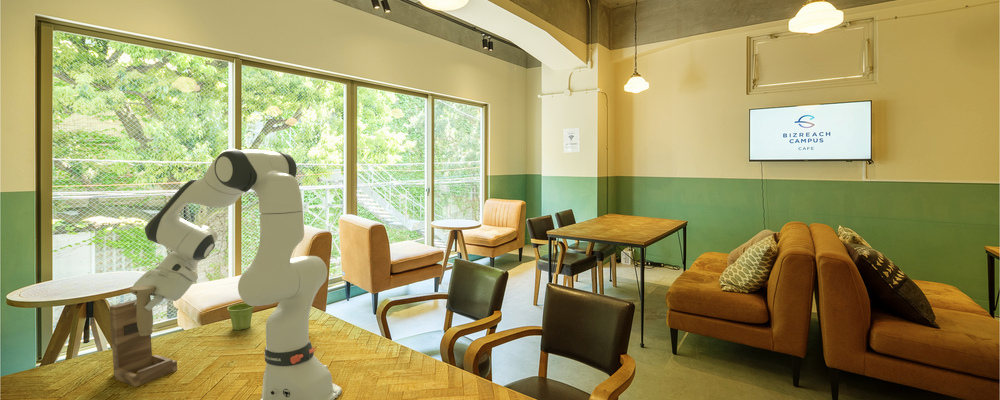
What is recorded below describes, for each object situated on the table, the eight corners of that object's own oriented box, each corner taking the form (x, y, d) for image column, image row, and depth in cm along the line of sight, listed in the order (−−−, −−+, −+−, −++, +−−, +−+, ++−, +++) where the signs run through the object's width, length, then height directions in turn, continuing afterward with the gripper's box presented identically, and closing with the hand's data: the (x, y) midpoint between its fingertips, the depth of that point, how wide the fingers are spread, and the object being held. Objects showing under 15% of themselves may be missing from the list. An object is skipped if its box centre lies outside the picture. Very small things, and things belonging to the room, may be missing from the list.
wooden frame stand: (177, 370, 138) (173, 303, 136) (135, 386, 128) (130, 314, 126) (151, 361, 144) (147, 296, 142) (109, 376, 133) (104, 307, 131)
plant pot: (237, 322, 178) (237, 302, 178) (260, 323, 178) (259, 303, 177) (222, 331, 169) (221, 310, 168) (246, 332, 169) (245, 310, 168)
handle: (143, 331, 137) (140, 284, 135) (162, 332, 136) (159, 285, 135) (128, 337, 132) (125, 289, 130) (148, 338, 131) (145, 290, 130)
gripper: (148, 260, 143) (113, 298, 135) (186, 268, 134) (152, 308, 126) (163, 271, 147) (131, 307, 139) (201, 278, 139) (169, 318, 131)
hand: (141, 308), depth 133 cm, fingers closed on handle, 3 cm apart
